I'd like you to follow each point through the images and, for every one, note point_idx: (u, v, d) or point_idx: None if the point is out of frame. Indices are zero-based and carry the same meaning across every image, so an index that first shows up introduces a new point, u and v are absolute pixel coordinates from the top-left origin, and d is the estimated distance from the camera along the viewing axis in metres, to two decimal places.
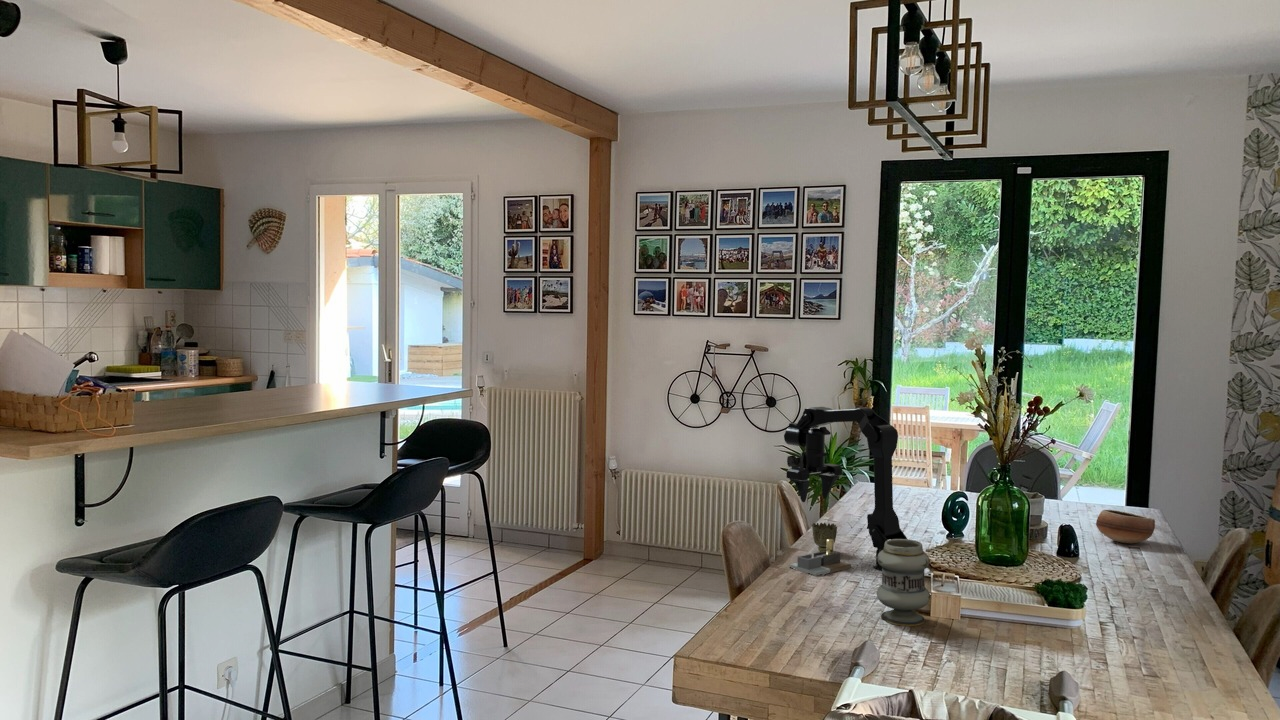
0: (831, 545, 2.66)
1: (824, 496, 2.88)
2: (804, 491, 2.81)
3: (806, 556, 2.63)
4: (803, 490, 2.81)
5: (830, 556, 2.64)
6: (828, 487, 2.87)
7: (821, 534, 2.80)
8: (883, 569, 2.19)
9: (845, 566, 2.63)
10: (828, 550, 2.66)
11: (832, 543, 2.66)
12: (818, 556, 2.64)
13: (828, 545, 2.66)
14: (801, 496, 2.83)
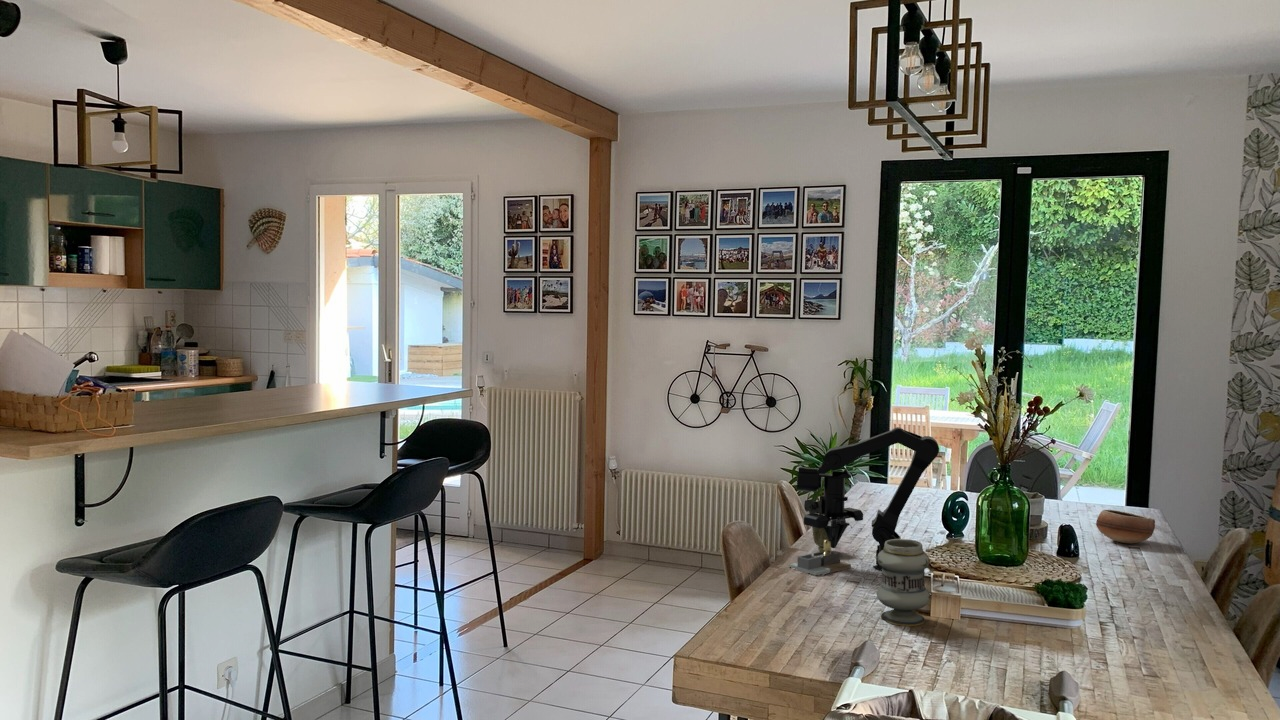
0: (828, 546, 2.65)
1: None
2: (834, 537, 2.65)
3: (806, 556, 2.63)
4: (832, 536, 2.66)
5: (830, 556, 2.64)
6: None
7: (821, 534, 2.80)
8: (883, 569, 2.19)
9: (845, 566, 2.63)
10: (825, 551, 2.65)
11: (829, 544, 2.65)
12: None
13: (826, 546, 2.65)
14: None
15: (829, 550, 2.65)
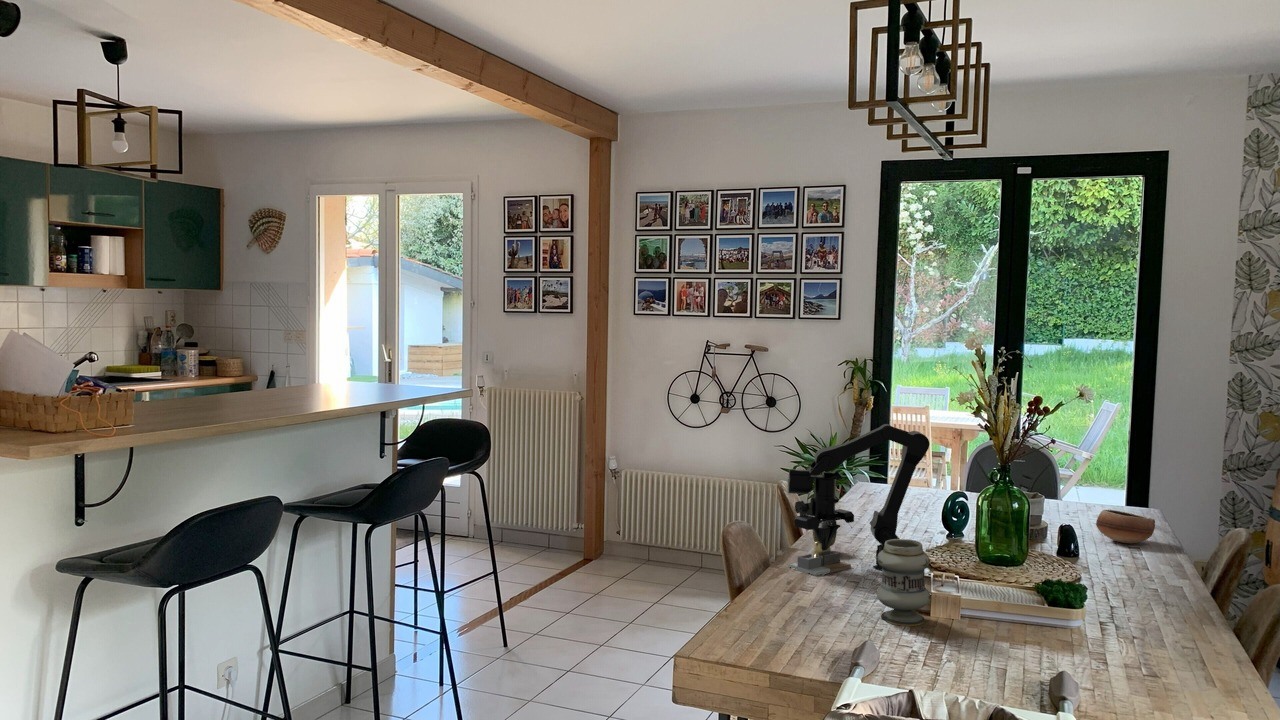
0: (819, 548, 2.63)
1: None
2: (824, 539, 2.63)
3: (806, 556, 2.63)
4: (823, 537, 2.63)
5: (830, 556, 2.64)
6: None
7: None
8: (883, 569, 2.19)
9: (845, 566, 2.63)
10: (816, 553, 2.63)
11: (820, 546, 2.63)
12: None
13: (816, 547, 2.63)
14: None
15: (820, 552, 2.63)
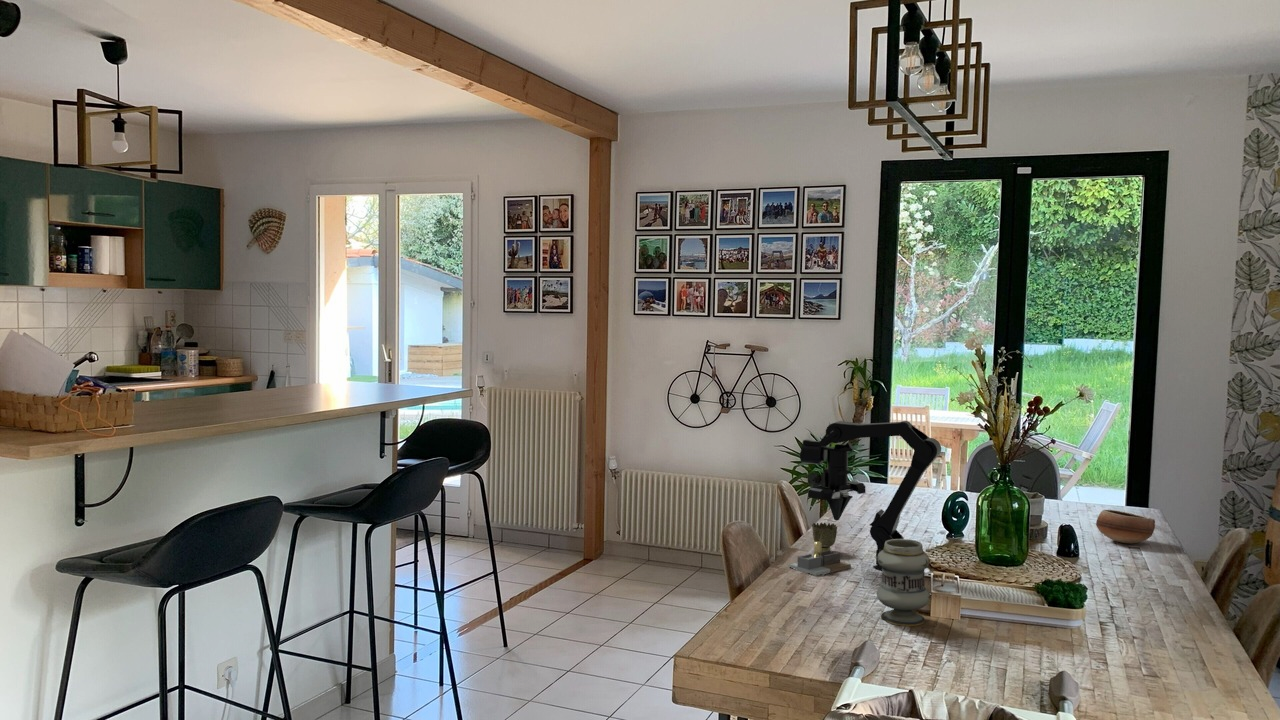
0: (819, 548, 2.63)
1: None
2: (837, 509, 2.68)
3: (806, 556, 2.63)
4: (836, 508, 2.68)
5: (830, 556, 2.64)
6: (841, 508, 2.69)
7: (821, 534, 2.80)
8: (883, 569, 2.19)
9: (845, 566, 2.63)
10: (816, 553, 2.63)
11: (820, 546, 2.63)
12: None
13: (816, 547, 2.63)
14: (834, 514, 2.70)
15: (819, 552, 2.63)
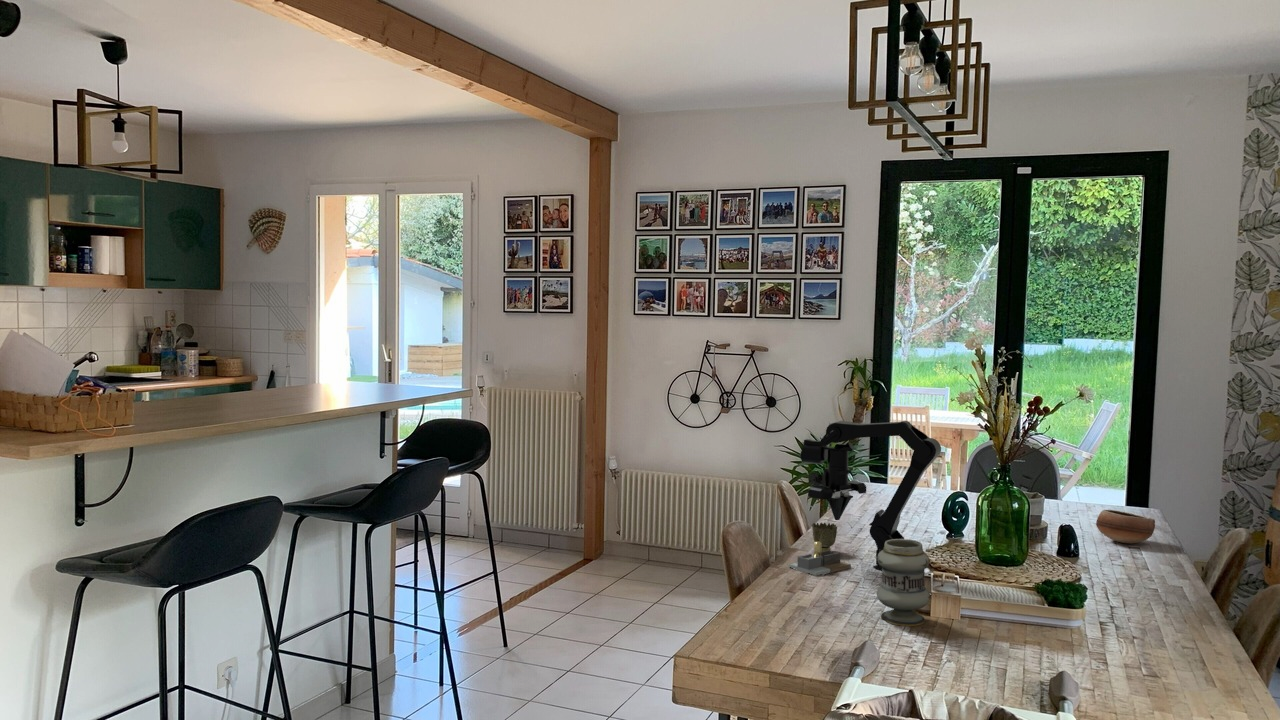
0: (819, 548, 2.63)
1: None
2: (837, 509, 2.69)
3: (806, 556, 2.63)
4: (836, 508, 2.69)
5: (830, 556, 2.64)
6: (841, 508, 2.70)
7: (821, 534, 2.80)
8: (883, 569, 2.19)
9: (845, 566, 2.63)
10: (816, 553, 2.63)
11: (820, 546, 2.63)
12: None
13: (816, 547, 2.63)
14: (834, 514, 2.71)
15: (819, 552, 2.63)
